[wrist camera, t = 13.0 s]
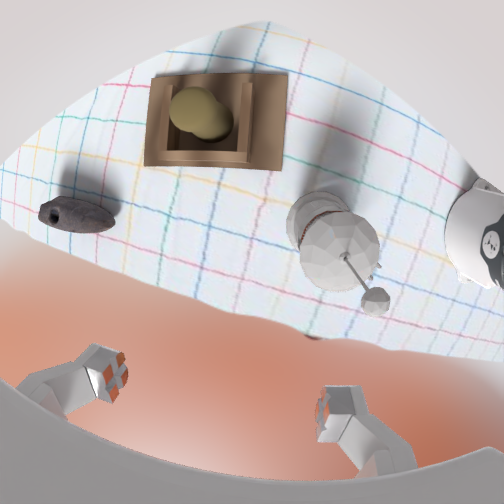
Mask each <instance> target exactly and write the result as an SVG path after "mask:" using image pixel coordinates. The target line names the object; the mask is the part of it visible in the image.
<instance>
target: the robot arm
mask: <svg viewBox="0 0 504 504" xmlns="http://www.w3.org/2000/svg"><path fill="white" fill-rule="evenodd" d="M485 187H486V188H485ZM445 245H446V251H447V254H448V257H449V259H450V261H451V262H452V263H453V265H454V266H455V268H456V270H457V276H458V279H459V281H460V282H462V283H470V282H474V281H475V282H476V283H478V284H480V285H481V286H483V287H485V288H487V289H489V288H490V287H495V286H498V287H499V288H500V289H502V290H503V291H504V194H503V193H502V192H501V191H500V190H498V189H497V188H496V187H494V186H493V185H491V184H490V183H489V182H487V181H486V180H484V179H481V178H478V179H477V180H476V182H475V183H474V185H473V186H472V188H471V189H470V190H469V191H467V192H466V193H464V194H463V195H462V196H461V197H459V199H458V200H457V201H456V202H455V204H454V205H453V207H452V209H451V211H450V213H449V216H448V219H447V223H446V229H445ZM124 361H125V356H124V353H122V352H120V351H117V350H114V349H111V348H108V347H105V346H102V345H99V344H96V343H92V344H91V345H90V346H89V347H88V348H87V349H86V350H85V351H84V352H83V353H82V354H81V355H80V356H79V357H78V358H77V359H76V360H75V361H74V362H71V361H70V362H67V363H64V364H61V365H58V366H55V367H51V368H48V369H45V370H42V371H38V372H35V373H31V374H29V375H28V376H27V377H26V378H25V379H24V380H23V381H22V382H21V383H20V384H19V385H18V386H17V387H16V388H13V387H12V386H11V385H10V384H8V383H7V382H5V381H4V380H3V379H1V378H0V504H504V454H503V453H502V452H500V451H498V450H497V449H494V448H492V447H485V448H482V449H479V450H476V451H474V452H471V453H468V454H466V455H463V456H460V457H457V458H454V459H451V460H447V461H444V462H441V463H437V464H434V465H430V466H426V467H422V468H418V466H417V463H416V460H415V456H414V453H413V450H412V447H411V445H410V444H409V443H408V442H406V441H405V440H404V439H403V438H401V437H400V436H399V435H398V434H396V433H395V432H394V431H393V430H391V429H390V428H389V427H388V426H386V425H385V424H384V423H383V422H382V421H380V420H379V419H378V418H377V417H376V416H374V415H373V414H369V411H368V407H367V404H366V400H365V397H364V393H363V390H362V387H361V386H360V385H359V386H332V385H324V386H323V387H322V390H321V398H320V399H318V402H317V404H316V409H315V421H316V422H317V423H318V426H317V428H316V436H317V442H338V444H339V446H340V447H341V448H342V450H343V451H344V452H345V453H346V455H347V456H348V457H349V458H350V459H351V461H352V462H353V463H354V464H355V466H357V468H358V469H359V470H360V471H359V472H358V474H357V475H356V476H355V477H354V478H353V479H344V480H326V481H324V480H323V481H294V480H293V481H292V480H274V479H261V478H251V477H243V476H235V475H229V474H223V473H217V472H212V471H207V470H202V469H197V468H193V467H188V466H184V465H180V464H176V463H172V462H169V461H166V460H162V459H158V458H155V457H152V456H149V455H146V454H143V453H140V452H137V451H134V450H132V449H129V448H126V447H124V446H121V445H118V444H116V443H113V442H111V441H109V440H106V439H104V438H101V437H99V436H97V435H95V434H93V433H90V432H88V431H86V430H84V429H82V428H80V427H78V426H76V425H74V424H72V423H70V422H69V421H68V419H67V418H66V416H65V415H66V414H68V413H70V412H72V411H74V410H76V409H78V408H80V407H82V406H84V405H86V404H87V403H89V402H91V401H93V400H95V399H96V398H98V399H101V400H103V401H106V402H109V403H113V402H114V401H115V399H116V398H117V396H118V395H119V390H118V389H120V388H123V387H124V386H125V384H126V383H127V379H128V369H127V367H126V365H125V364H124V363H123V362H124Z"/></svg>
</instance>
